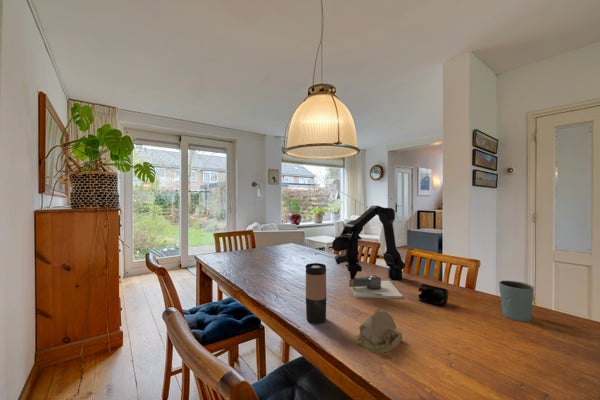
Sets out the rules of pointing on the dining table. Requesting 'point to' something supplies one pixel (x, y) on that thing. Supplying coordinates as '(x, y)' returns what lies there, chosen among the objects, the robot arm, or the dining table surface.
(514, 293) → the green cup
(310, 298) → the travel mug
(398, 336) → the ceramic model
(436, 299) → the end cap
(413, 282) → the dining table surface
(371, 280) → the lever
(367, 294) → the plate
